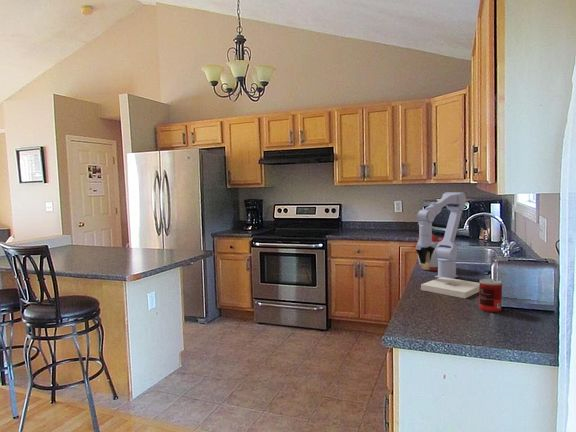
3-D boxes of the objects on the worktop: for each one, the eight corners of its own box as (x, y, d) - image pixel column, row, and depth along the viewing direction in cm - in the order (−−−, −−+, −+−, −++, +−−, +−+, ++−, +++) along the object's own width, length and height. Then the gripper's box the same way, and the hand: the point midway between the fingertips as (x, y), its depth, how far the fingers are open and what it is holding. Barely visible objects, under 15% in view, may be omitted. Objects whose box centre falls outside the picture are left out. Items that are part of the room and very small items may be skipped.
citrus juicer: (449, 267, 230) (449, 232, 228) (444, 273, 215) (444, 236, 213) (421, 264, 238) (421, 231, 236) (414, 270, 223) (414, 234, 221)
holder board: (441, 281, 196) (441, 276, 196) (484, 289, 182) (484, 283, 182) (420, 289, 183) (420, 284, 183) (465, 298, 168) (465, 292, 168)
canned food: (498, 307, 156) (499, 279, 155) (503, 313, 148) (504, 284, 148) (477, 305, 158) (477, 278, 157) (481, 312, 150) (481, 283, 150)
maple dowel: (423, 267, 198) (423, 251, 197) (431, 268, 195) (431, 252, 194) (419, 268, 195) (419, 252, 194) (427, 270, 192) (427, 253, 191)
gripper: (425, 232, 201) (425, 259, 202) (409, 235, 191) (409, 263, 193) (438, 233, 196) (438, 261, 197) (423, 236, 186) (423, 265, 187)
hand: (425, 262), depth 194 cm, fingers closed on maple dowel, 4 cm apart
